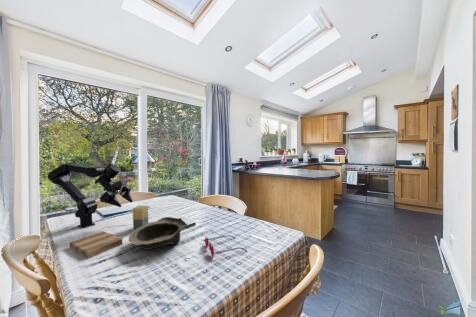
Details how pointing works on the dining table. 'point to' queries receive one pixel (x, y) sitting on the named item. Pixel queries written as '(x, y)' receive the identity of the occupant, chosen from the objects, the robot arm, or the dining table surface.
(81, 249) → the walnut stand
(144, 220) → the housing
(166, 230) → the stone bowl
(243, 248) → the glasses
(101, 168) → the robot arm
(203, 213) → the dining table surface
